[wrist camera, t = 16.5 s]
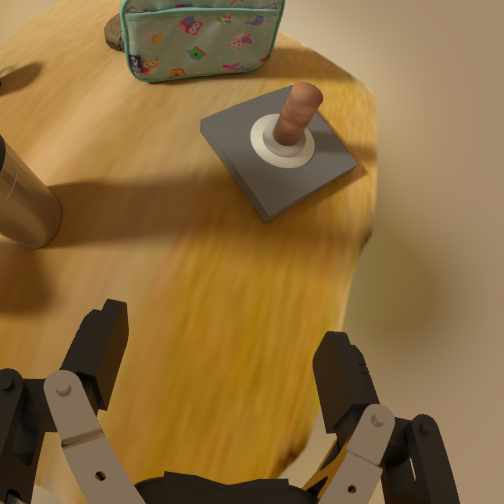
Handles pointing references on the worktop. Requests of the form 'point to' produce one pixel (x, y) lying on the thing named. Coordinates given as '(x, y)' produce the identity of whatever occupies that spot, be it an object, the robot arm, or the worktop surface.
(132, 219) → the worktop surface
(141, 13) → the lunch box
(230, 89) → the worktop surface
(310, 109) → the handle
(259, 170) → the plate
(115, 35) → the wood slice
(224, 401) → the worktop surface
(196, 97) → the worktop surface
